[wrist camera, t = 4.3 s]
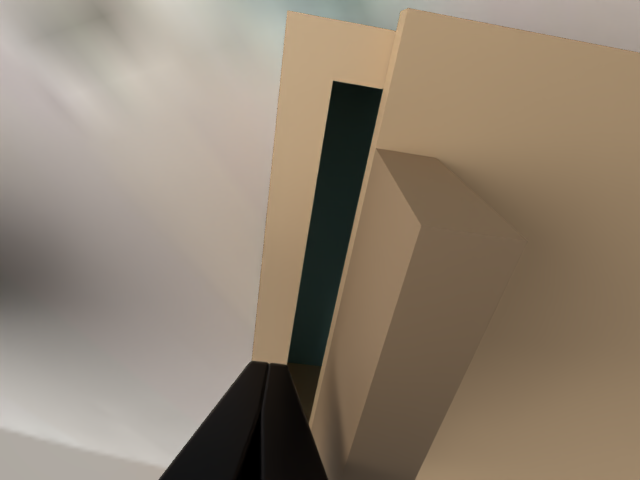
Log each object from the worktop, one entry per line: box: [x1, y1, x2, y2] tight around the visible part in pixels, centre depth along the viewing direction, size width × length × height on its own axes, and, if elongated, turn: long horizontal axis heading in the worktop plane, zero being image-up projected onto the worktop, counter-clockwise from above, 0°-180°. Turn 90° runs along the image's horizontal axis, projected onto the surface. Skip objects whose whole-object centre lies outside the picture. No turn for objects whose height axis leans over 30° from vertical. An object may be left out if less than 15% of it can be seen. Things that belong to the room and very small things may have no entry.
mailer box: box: [252, 11, 396, 424], centre depth 12 cm, size 14×14×5 cm
